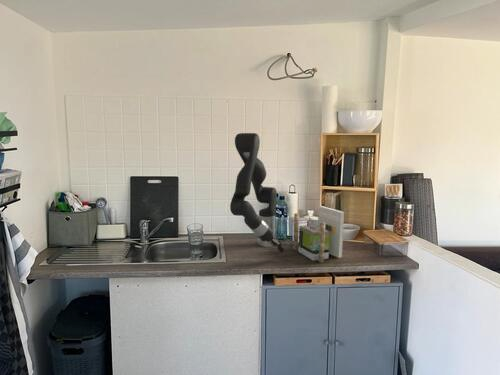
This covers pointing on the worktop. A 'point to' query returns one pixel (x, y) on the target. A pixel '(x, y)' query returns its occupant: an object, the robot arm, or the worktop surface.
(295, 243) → the left post
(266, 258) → the worktop surface
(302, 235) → the tea box
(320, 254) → the right post
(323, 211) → the breaker panel
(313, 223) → the skincare box
